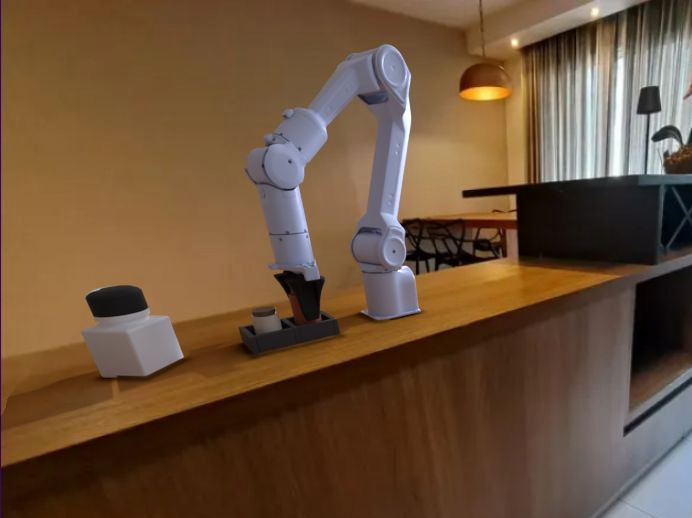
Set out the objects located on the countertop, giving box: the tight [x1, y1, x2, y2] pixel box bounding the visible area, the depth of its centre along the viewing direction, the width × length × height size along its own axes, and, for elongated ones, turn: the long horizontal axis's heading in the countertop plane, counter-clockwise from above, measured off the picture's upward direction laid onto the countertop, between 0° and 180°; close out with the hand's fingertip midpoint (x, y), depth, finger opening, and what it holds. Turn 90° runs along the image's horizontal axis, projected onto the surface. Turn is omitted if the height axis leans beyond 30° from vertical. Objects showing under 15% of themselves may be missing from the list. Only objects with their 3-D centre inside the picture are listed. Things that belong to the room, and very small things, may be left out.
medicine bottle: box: [80, 284, 185, 379], centre depth 62 cm, size 7×7×12 cm
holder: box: [238, 310, 341, 355], centre depth 74 cm, size 14×7×3 cm, turn 132°
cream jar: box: [250, 305, 283, 335], centre depth 71 cm, size 4×4×6 cm
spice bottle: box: [288, 288, 322, 326], centre depth 74 cm, size 4×4×8 cm
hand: (307, 316), depth 75 cm, fingers closed on spice bottle, 4 cm apart
